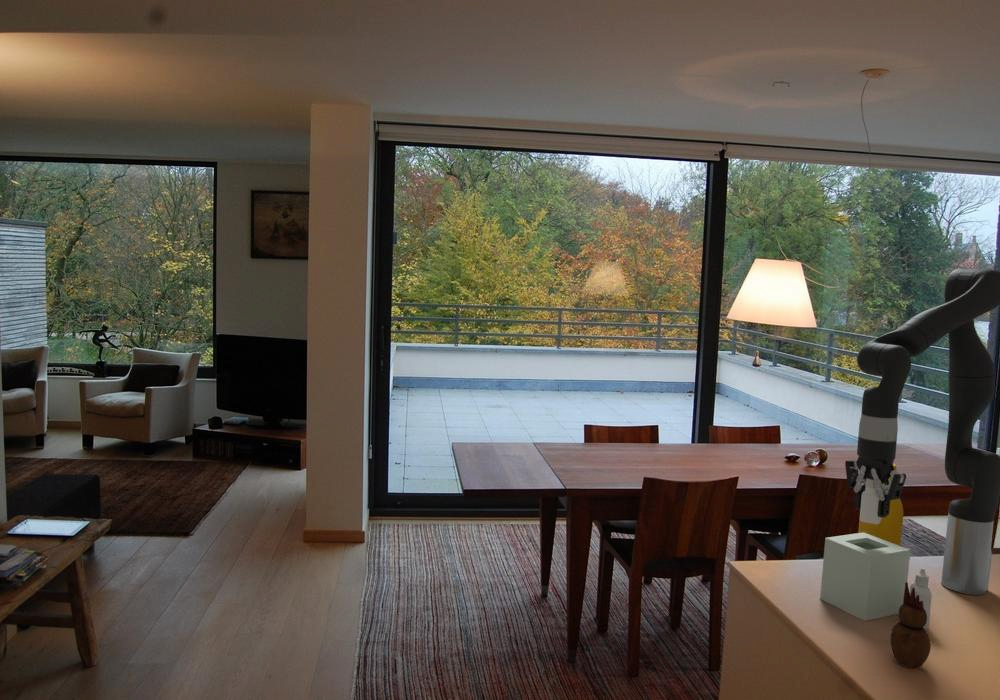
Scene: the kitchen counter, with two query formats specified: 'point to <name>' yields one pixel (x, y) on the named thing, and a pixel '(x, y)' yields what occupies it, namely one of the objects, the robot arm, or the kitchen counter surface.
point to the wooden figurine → (910, 632)
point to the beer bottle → (887, 523)
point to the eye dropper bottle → (923, 592)
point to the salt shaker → (870, 503)
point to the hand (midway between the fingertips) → (871, 512)
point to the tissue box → (864, 575)
